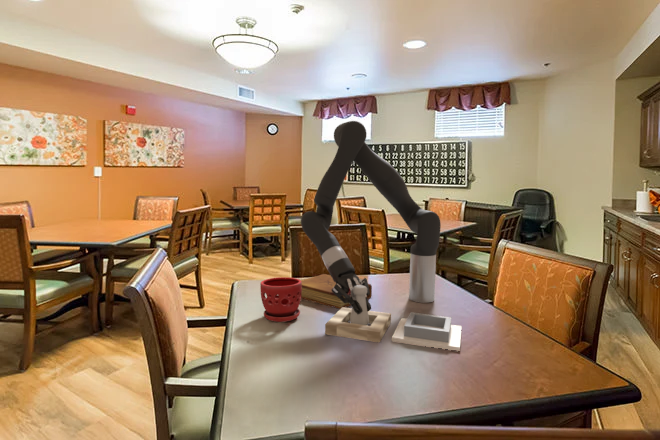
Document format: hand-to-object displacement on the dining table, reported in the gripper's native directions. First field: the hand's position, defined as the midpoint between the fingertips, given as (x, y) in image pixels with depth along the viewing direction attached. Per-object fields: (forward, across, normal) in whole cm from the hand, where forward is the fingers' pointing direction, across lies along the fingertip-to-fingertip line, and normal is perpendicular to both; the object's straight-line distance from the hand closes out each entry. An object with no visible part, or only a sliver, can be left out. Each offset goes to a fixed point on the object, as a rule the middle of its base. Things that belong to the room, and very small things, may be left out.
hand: (364, 311), depth 119 cm
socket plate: (+14, +12, -6) cm, 19 cm away
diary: (-17, +14, +27) cm, 35 cm away
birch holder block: (+3, 0, +6) cm, 6 cm away
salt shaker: (+3, 0, +6) cm, 6 cm away
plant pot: (-13, -13, +22) cm, 28 cm away
